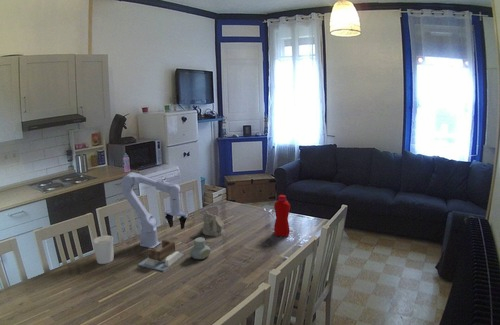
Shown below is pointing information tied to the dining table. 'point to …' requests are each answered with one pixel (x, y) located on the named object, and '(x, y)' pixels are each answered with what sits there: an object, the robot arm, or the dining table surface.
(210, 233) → the beige rock
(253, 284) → the dining table surface
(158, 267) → the display stand
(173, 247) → the wooden c-shaped bracket
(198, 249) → the air freshener
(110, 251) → the candle holder
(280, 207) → the water bottle
